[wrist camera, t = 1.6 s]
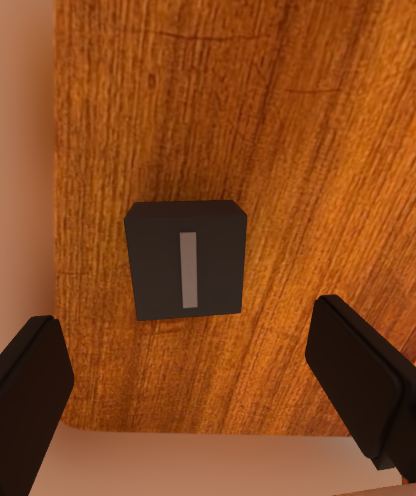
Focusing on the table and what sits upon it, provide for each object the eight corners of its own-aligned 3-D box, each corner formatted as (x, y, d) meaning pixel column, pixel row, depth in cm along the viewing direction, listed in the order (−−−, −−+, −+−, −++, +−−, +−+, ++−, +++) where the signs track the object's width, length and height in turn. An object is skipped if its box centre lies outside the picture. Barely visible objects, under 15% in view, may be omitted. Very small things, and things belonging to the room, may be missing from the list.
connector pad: (133, 202, 15) (122, 219, 12) (232, 199, 16) (248, 215, 12) (143, 288, 17) (136, 323, 14) (229, 283, 18) (242, 315, 15)
